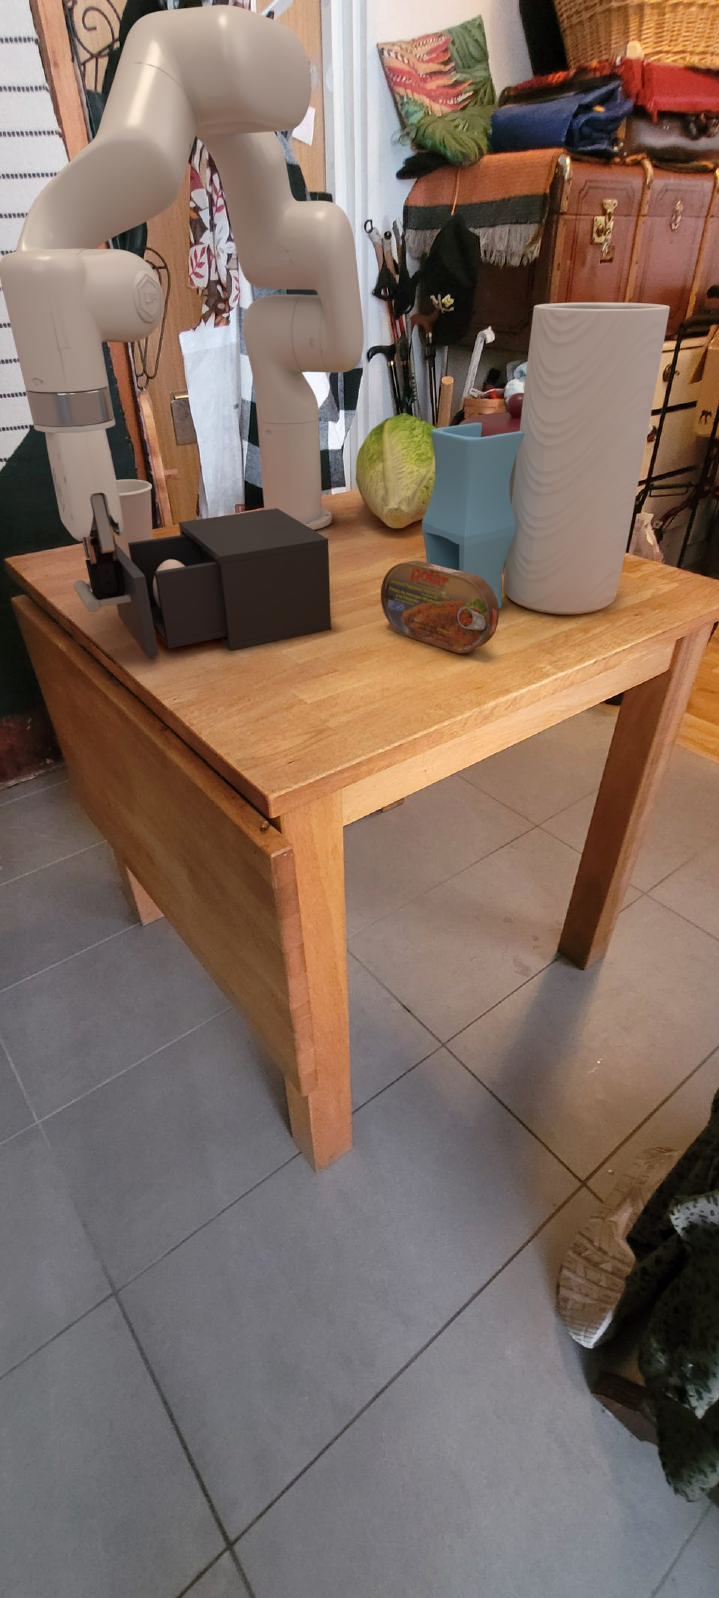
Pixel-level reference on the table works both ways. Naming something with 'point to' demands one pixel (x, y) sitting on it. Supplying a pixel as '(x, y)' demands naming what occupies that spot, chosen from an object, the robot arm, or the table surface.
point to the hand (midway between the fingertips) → (109, 595)
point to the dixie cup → (134, 512)
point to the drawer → (166, 594)
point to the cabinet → (267, 575)
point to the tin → (439, 606)
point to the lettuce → (397, 470)
